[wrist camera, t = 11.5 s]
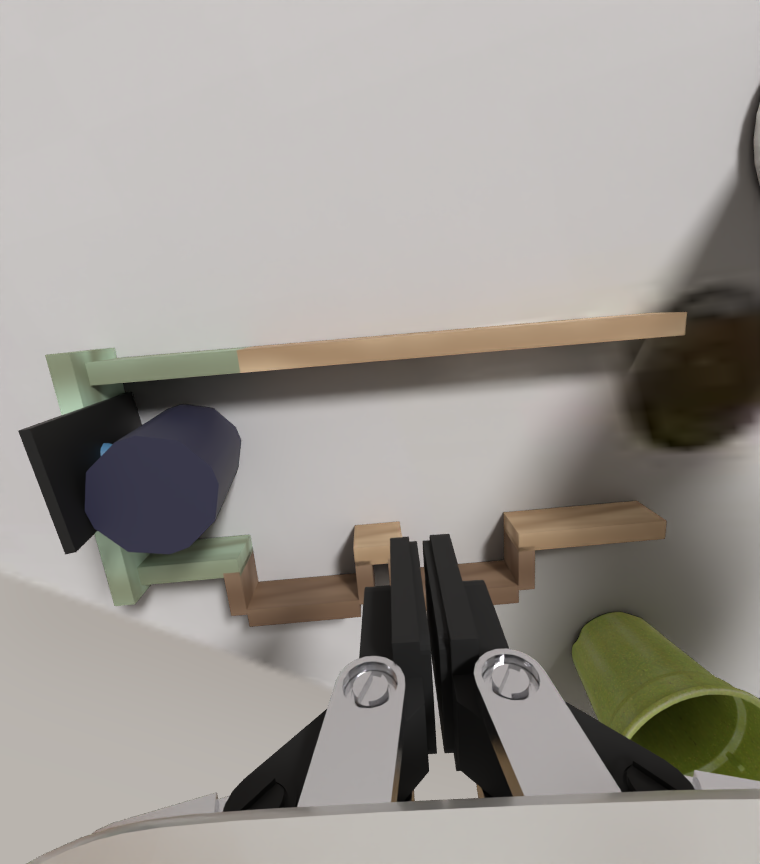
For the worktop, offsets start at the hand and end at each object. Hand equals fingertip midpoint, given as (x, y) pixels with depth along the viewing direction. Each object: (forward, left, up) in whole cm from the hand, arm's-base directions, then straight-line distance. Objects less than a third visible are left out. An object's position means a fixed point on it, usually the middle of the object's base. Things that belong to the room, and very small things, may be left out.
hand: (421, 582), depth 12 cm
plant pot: (+17, +15, -16) cm, 28 cm away
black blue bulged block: (-1, -12, -16) cm, 20 cm away
